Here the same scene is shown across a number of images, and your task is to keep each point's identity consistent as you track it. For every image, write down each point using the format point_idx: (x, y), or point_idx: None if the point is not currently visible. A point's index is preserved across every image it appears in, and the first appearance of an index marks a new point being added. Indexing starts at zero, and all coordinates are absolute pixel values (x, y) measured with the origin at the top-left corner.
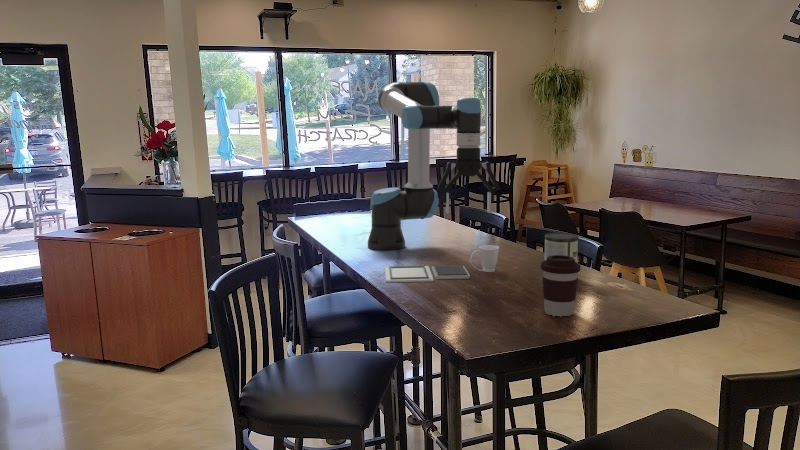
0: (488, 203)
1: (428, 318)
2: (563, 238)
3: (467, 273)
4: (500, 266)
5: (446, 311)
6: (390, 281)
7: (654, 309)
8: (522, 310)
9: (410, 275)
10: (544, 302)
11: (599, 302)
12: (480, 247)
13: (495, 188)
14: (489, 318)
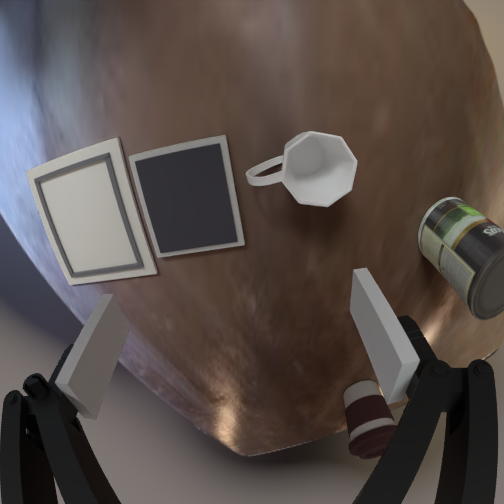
0: (366, 345)
1: (194, 413)
2: (488, 315)
3: (237, 226)
4: (342, 103)
5: (212, 399)
6: (76, 283)
7: (464, 354)
8: (317, 389)
9: (97, 244)
10: (345, 404)
11: None
12: (286, 161)
13: (449, 405)
14: (268, 411)
